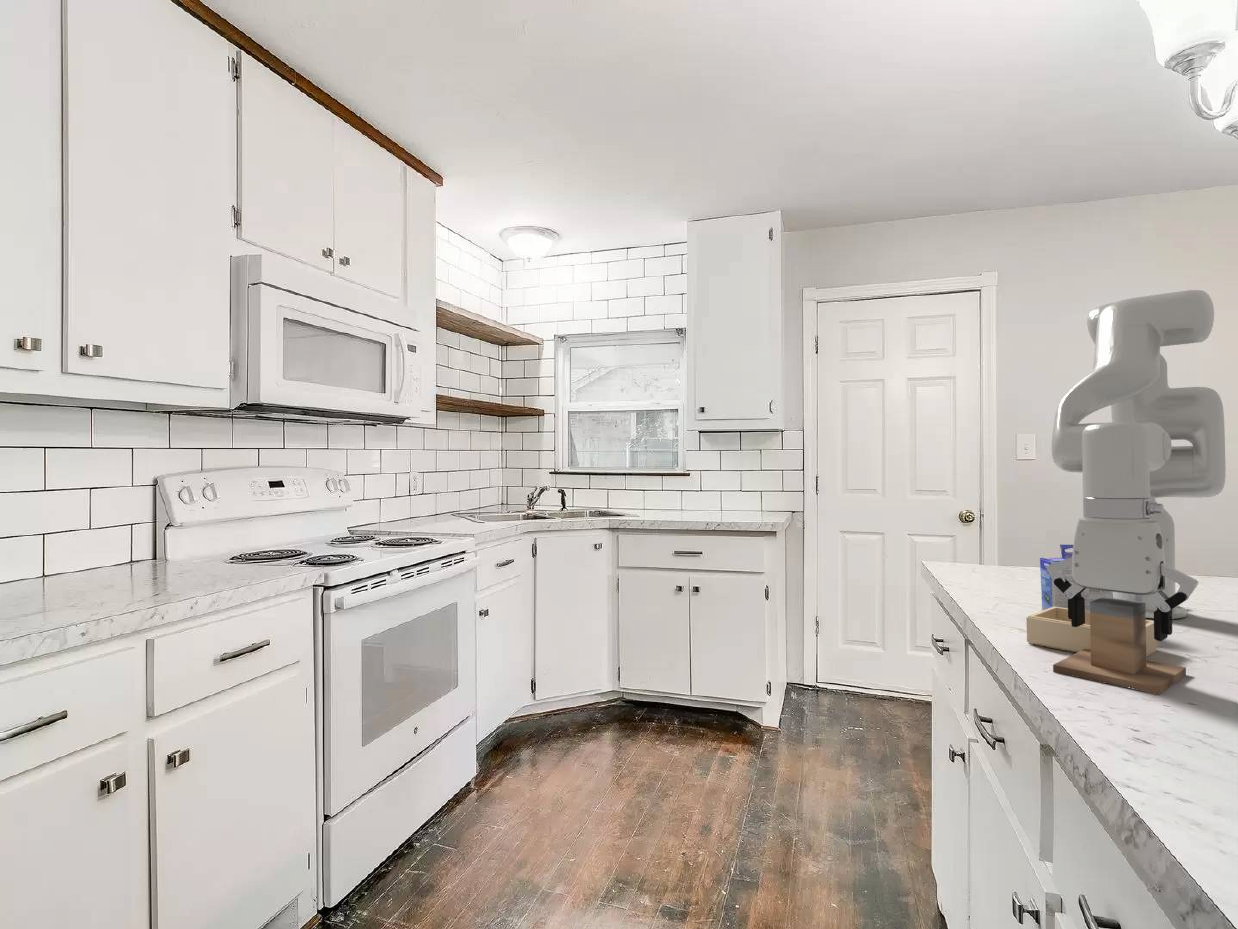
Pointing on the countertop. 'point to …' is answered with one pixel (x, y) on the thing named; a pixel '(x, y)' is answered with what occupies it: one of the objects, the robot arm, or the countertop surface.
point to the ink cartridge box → (1053, 594)
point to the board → (1122, 673)
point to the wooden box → (1070, 631)
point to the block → (1118, 634)
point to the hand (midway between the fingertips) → (1117, 631)
